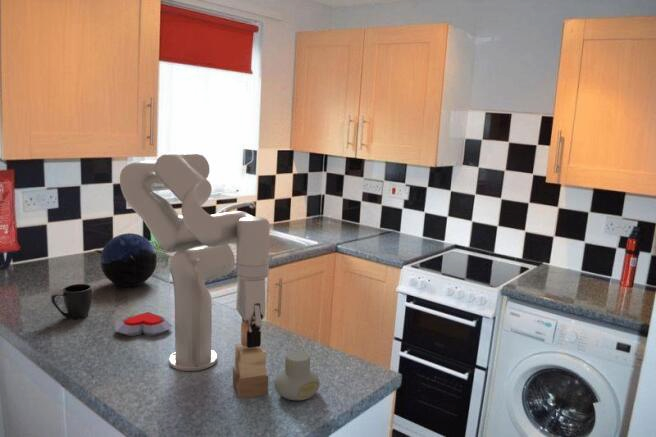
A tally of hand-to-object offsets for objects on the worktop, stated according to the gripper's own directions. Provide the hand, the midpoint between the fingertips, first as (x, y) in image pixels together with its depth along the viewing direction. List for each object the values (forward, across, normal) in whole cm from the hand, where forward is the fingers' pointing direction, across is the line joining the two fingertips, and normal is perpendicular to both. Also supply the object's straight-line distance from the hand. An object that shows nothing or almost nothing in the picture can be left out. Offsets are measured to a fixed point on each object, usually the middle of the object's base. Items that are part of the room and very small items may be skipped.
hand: (250, 341), depth 128 cm
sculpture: (+13, -45, -22) cm, 52 cm away
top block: (+8, 0, 0) cm, 8 cm away
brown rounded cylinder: (0, 0, 0) cm, 0 cm away
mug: (+13, -60, -43) cm, 75 cm away
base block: (+13, 0, 0) cm, 13 cm away
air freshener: (+13, +6, +10) cm, 17 cm away
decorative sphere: (+13, -89, -25) cm, 93 cm away
